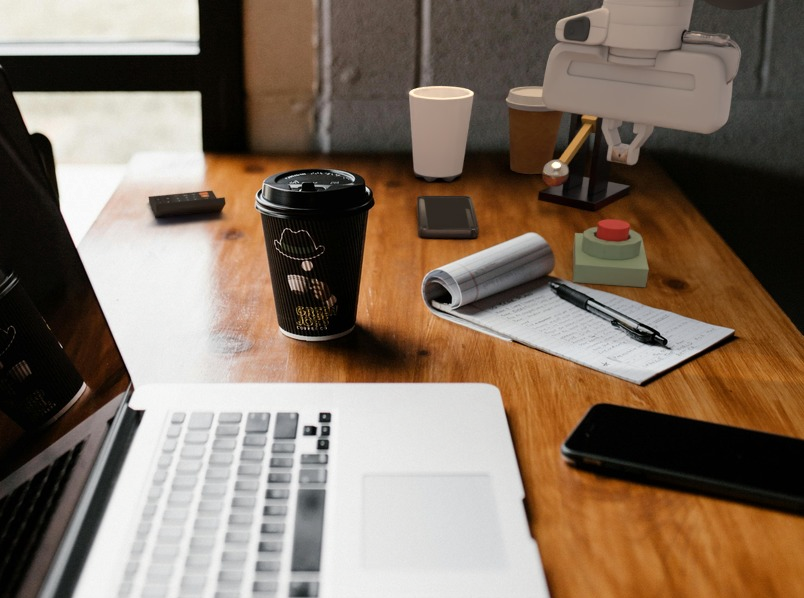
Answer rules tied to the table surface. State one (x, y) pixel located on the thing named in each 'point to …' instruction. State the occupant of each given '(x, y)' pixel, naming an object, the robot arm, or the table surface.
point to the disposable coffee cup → (531, 130)
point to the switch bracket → (583, 189)
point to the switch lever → (568, 154)
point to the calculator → (186, 203)
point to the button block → (609, 260)
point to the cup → (439, 130)
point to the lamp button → (613, 230)
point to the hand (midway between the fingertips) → (621, 162)
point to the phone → (446, 217)
